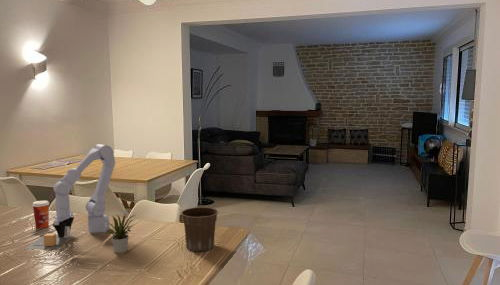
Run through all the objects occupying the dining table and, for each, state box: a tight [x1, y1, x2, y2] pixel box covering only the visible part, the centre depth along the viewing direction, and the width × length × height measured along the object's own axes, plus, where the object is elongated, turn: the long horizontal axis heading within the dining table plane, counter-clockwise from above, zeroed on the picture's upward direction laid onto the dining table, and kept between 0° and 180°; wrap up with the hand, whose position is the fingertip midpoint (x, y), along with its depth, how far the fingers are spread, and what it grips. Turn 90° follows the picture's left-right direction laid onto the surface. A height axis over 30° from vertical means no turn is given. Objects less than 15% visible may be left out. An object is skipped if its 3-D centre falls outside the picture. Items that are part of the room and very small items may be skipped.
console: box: [24, 233, 76, 250], centre depth 175 cm, size 14×18×1 cm
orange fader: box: [43, 232, 57, 246], centre depth 170 cm, size 4×3×5 cm
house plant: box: [103, 213, 136, 254], centre depth 167 cm, size 14×14×16 cm
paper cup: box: [32, 200, 50, 229], centre depth 196 cm, size 8×8×14 cm
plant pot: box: [180, 206, 219, 252], centre depth 171 cm, size 16×16×16 cm
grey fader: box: [63, 226, 71, 238], centre depth 180 cm, size 4×3×5 cm
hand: (64, 235), depth 180 cm, fingers open, 5 cm apart
